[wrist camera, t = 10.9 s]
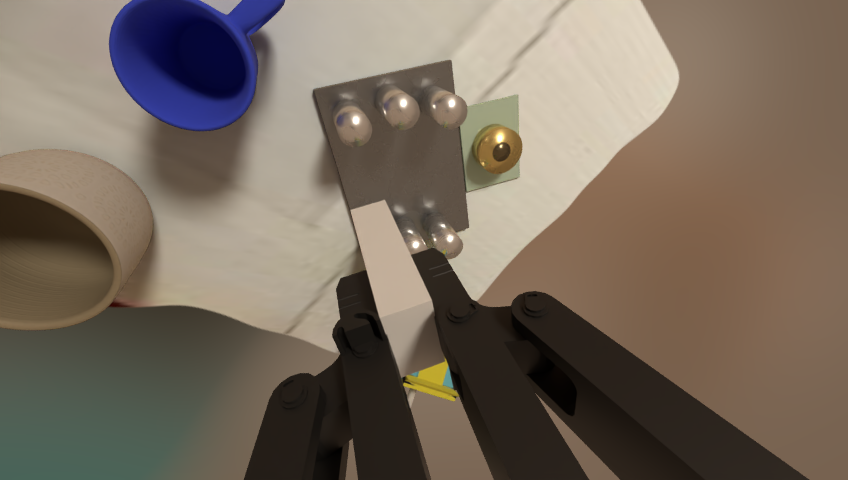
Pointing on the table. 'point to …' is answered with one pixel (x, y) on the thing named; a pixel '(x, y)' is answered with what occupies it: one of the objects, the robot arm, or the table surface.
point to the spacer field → (402, 150)
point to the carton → (431, 382)
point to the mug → (189, 59)
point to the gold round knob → (497, 148)
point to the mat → (476, 120)
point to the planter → (66, 237)
